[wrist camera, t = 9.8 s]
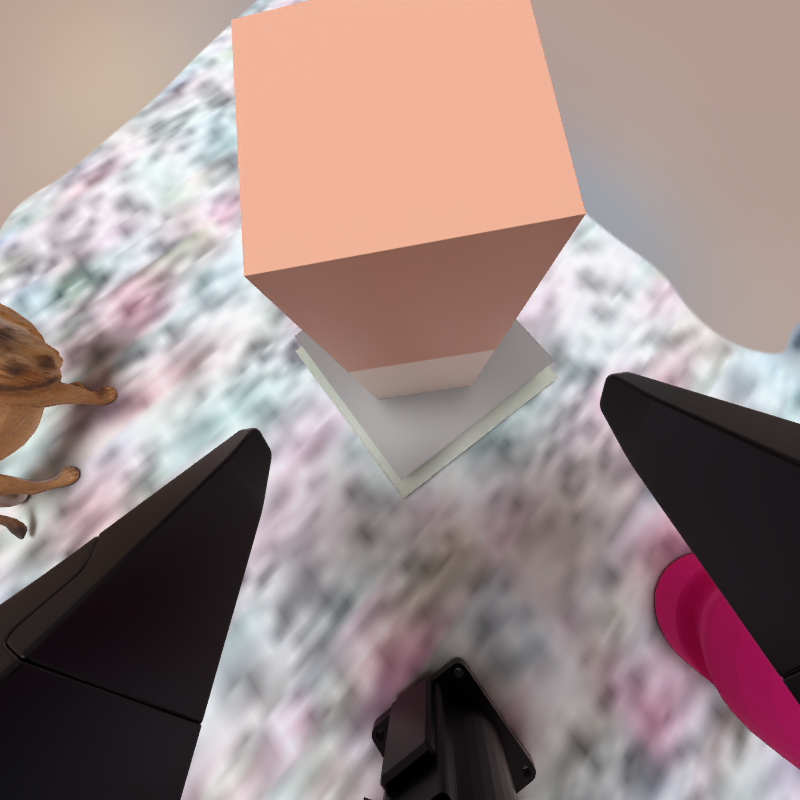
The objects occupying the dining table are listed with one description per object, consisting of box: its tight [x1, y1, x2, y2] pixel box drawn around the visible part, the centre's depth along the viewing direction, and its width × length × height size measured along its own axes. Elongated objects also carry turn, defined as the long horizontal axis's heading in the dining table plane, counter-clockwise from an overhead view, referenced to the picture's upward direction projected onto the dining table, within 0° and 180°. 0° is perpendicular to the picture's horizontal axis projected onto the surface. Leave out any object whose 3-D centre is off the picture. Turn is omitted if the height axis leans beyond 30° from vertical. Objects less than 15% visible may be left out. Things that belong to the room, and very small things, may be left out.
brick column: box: [231, 0, 586, 399], centre depth 11 cm, size 5×5×12 cm
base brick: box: [295, 319, 558, 499], centre depth 19 cm, size 12×12×4 cm
